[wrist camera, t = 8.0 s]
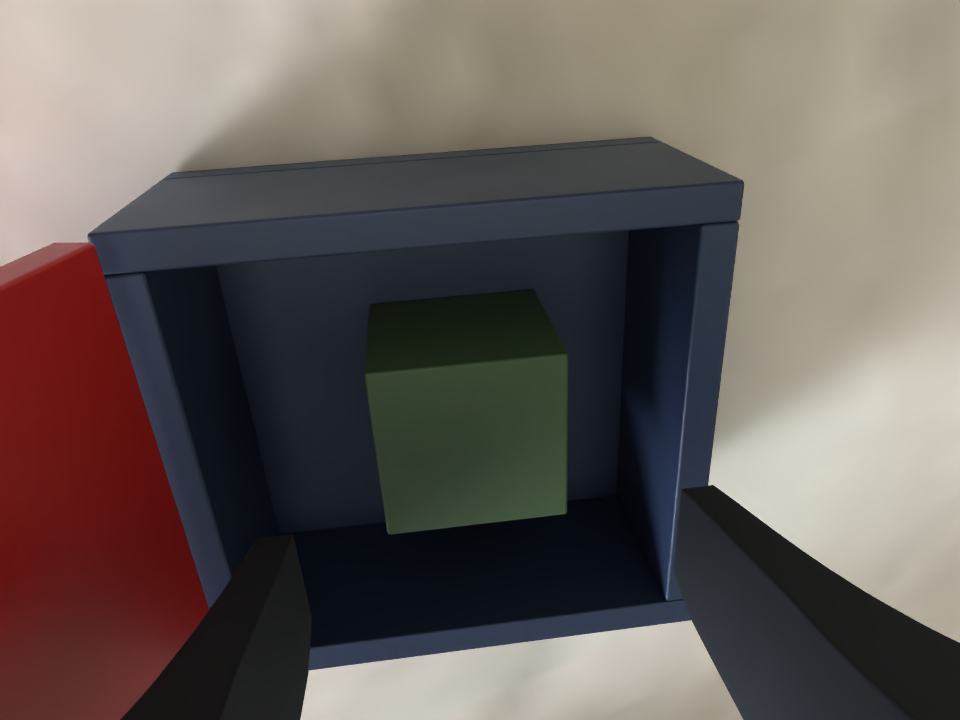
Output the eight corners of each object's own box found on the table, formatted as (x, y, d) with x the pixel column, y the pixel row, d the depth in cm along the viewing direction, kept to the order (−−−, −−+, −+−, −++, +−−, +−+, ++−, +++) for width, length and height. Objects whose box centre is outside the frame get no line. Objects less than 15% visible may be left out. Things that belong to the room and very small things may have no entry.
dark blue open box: (652, 136, 18) (746, 180, 13) (631, 496, 23) (693, 620, 18) (170, 172, 17) (85, 233, 12) (262, 539, 22) (227, 681, 17)
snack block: (537, 427, 20) (567, 515, 17) (388, 443, 20) (387, 536, 17) (535, 288, 18) (569, 353, 15) (369, 303, 18) (363, 374, 15)
